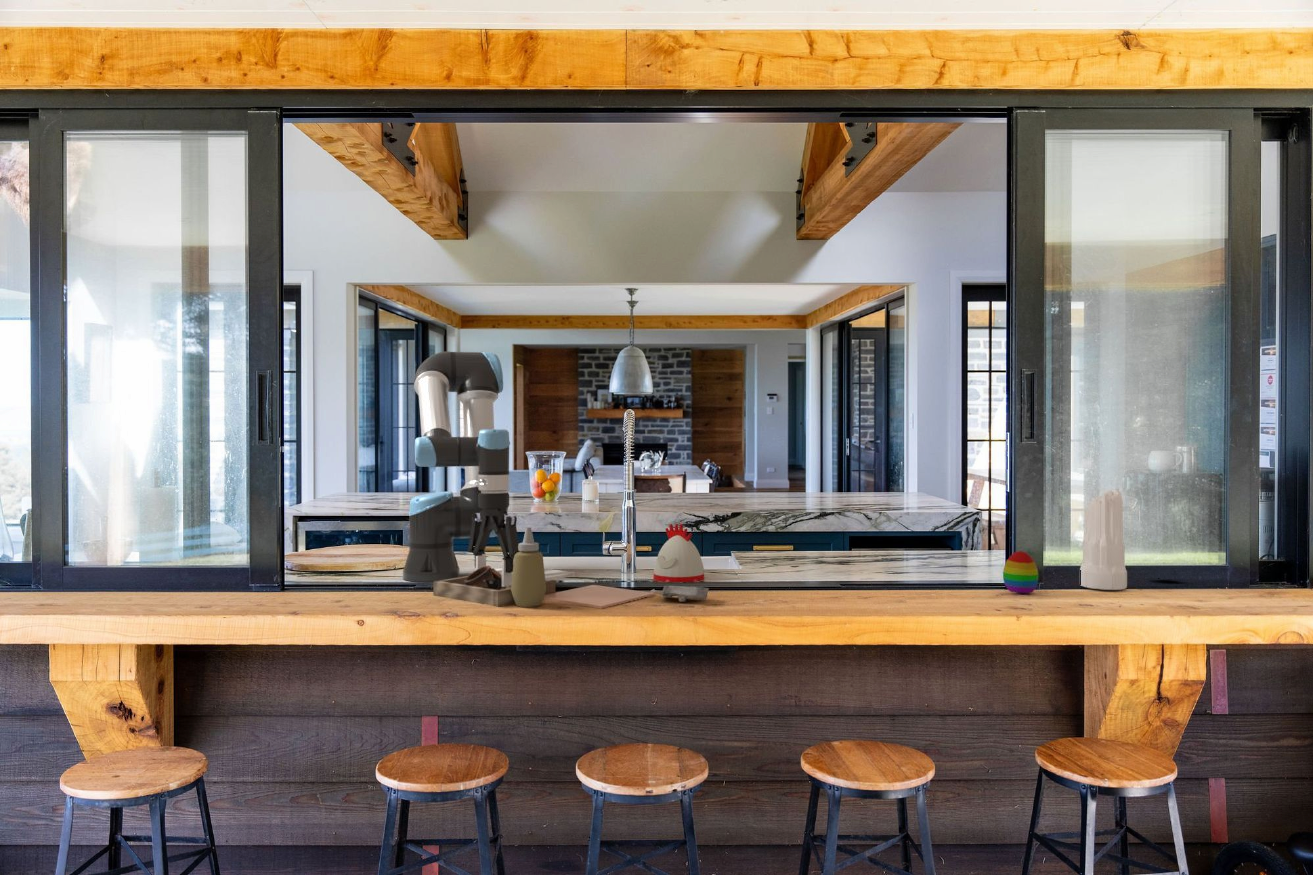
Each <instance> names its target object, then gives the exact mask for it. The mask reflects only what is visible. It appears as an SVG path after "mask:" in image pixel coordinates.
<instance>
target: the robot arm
mask: <svg viewBox="0 0 1313 875" xmlns="http://www.w3.org/2000/svg"><path fill="white" fill-rule="evenodd" d="M415 372H416V373H415V374H414V378H413V388H414V391H415V393H416V394H417V396H418V404H419V415H420V416H419V417H420V418H419V419H420V430H421V431H420V432H421V433H420V434H421V437H420V436H419V437H416V438H415V440H414V463H415V465H416V466H417V467H420V468H421V467H422V468H423V467H424V468H425V467H428V468H444V467H445V468H446V467H447V468H449V467H464V475H465V476H464V481H465V483H464V486H462V487H461V489H460V490H459V496H454V493H453V491H452V490H450V491H440V492H439V491H438V492H432V493H431V492H430V493H426V494H420V495H416V496H414V497H412V498H411V499H410V501H409V511H408V516H409V534H408V535H409V539H408V541H409V542H408V545H409V550H408V554H407V556H406V557H407V558H406V561H405V564H404V568H403V570H402V579H403V580H404V581H408V582H417V583H418V582H419V583H421V582H423V583H425V582H426V583H427V582H429V583H430V582H431V583H433V582H434V581H440V580H446V579H452V578H458V577H461V576H460V573H461V572H460V567H459V564H458V560H457V557H456V554H455V551H454V539H469V541H468V550H467V551H468V552H469V553H472V554H473V557H474V569H475V571H476V570H477V569H480V568H481V567H484V566H487V554H486V552H485V550H486V548H487V544H488V541H489V538H494V537H497V539H498V543H499V544H500V545H499V546H500V548H501V552H502V555H503V557H502V559H501V568H502V587H505V586H510V585H512V572H513V565H514V555H515V554H516V553H518V552H520V551H519V550H518V544H519V538H518V536H519V535H518V530H517V519H518V518H517V516H516V515H508V514H509V507H510V493H509V492H508V491H510V445H511V442H510V432H509V431H508V430H507V429H505V428H504V429H500V428H499V429H497V428H495V418H494V415H495V413H494V402H496V401H497V399H498V398H499V394H501V393H502V392H503V391H504V375H503V367H502V363H501V360H500V358H499V357H498V355H497V354H495V353H493V352H483V351H480V352H478V351H477V352H475V351H473V352H472V351H440V352H437V353H435V354H432V355H431V356H429V357H428V358H426V359H425V360H424V361H423V362H422V363H421V364H420V365H419V367H418V368H417V369H416V371H415ZM448 392H449V393H457V395H456V396H457V400H458V401H459V402H460V403H462V412H463V414H462V415H463V436H453V435H452V427H451V421H450V420H451V418H450V410H449V401H448ZM484 581H485V580H484Z"/></svg>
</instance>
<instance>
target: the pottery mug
mask: <svg viewBox="0 0 1313 875" xmlns="http://www.w3.org/2000/svg"><path fill="white" fill-rule="evenodd" d="M495 569H496V568H492V567H491V565H486V566H484V567H481V568H480V569H477V570H476V569H475V570H474V571H473V572H472V573H470V574H469V575H467V576H468V577H467V579H466V580H465V581H464V582H465V584H466V585H468V586H475V587H482V588H485V587H484V580H485V581H486V583H487V585H488V587H487V588H488V589H494V590H501V589H506V586H505V587H502V576H501V574H500V573H499V572H497V571H496V570H495Z"/></svg>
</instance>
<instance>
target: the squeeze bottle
mask: <svg viewBox="0 0 1313 875" xmlns="http://www.w3.org/2000/svg"><path fill="white" fill-rule="evenodd" d="M524 530H525V532H524V536H523V540H522V542H520V543H519V544H518V550H519V551H520V552H518V553H516V554H515V555H514V560H513V575H512V586H511V592H512V595H513V598H514V601H515V603H514V604H515V605H516V606H517V607H520V608H534V607H538V606H541V605H542V603H543V601H544V600H543V597H544V594H545V591H546V582H545V572H544V568H545V567H544V566H545V565H544V563H545V562H544V555H543V553H542V552H541V551H539V545H540V544H539V542H535V539H534V535H533V531H532V527H525V529H524Z"/></svg>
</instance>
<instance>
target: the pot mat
mask: <svg viewBox="0 0 1313 875" xmlns="http://www.w3.org/2000/svg"><path fill="white" fill-rule="evenodd" d="M653 595H655V596H656V593H653V592H647V591H642V590H641V591H640V590H634V589H627V588H619V587H612V586H611V587H610V586H605V585H604V586H603V585H597V584H590V585H586V586H581V587H576V588H571V589H568V590H563V591H557V592H555V593H552V594H547V595H544V597H543V599H544V600H543V601H549V602H556V603H561V604H562V603H563V604H567V605H568V604H569V605H575V606H579V607H580V606H581V607H586V608H587V607H588V608H595V609H601V610H602V609H606V608H610V607H609V606H611V607H614V605H615V606H617V605H616V604H619V605H622V604H621V603H623V604H626V603H625V602H627V603H629V602H628V601H631V602H634V601H633V600H635V599H639V600H642V599H641V598H643V599H645V598H644V597H647V598H651V597H654V596H653ZM635 601H636V600H635Z"/></svg>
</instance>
